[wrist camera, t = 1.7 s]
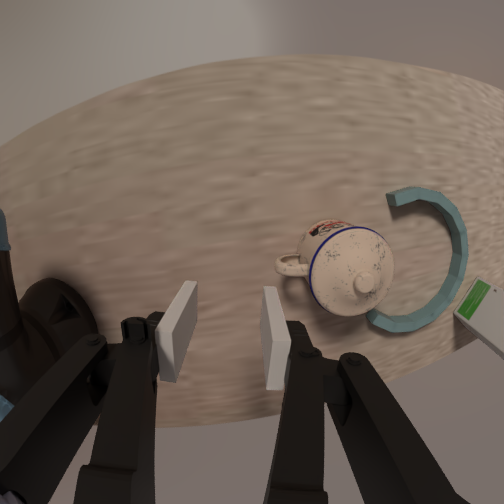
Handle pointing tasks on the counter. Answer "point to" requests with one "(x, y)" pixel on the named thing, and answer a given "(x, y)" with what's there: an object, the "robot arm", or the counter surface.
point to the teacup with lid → (342, 266)
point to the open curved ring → (455, 271)
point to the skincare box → (484, 313)
